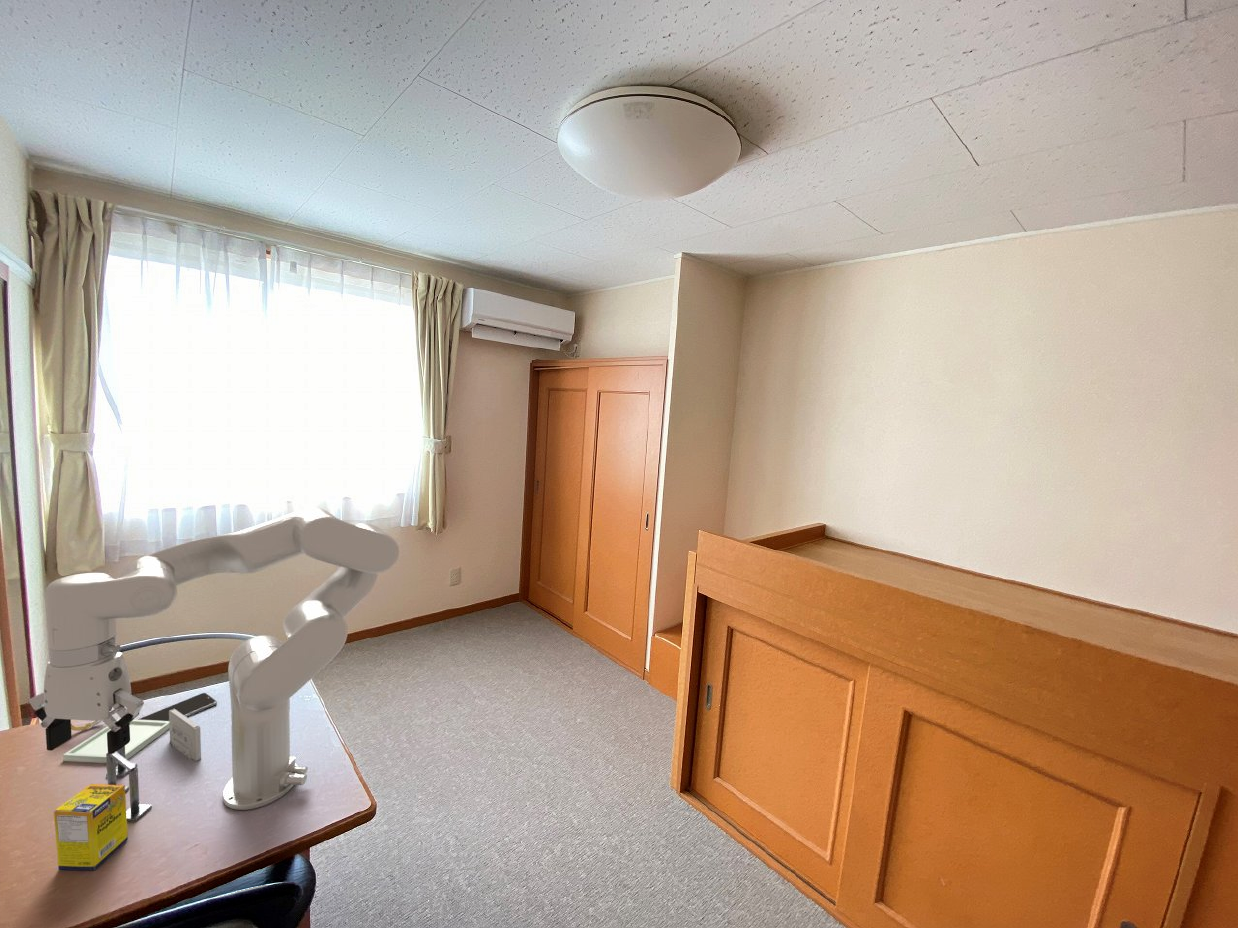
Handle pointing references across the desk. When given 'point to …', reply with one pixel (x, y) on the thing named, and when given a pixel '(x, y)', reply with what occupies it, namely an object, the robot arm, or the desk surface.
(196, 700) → the smartphone
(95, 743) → the tray
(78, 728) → the ring
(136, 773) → the metal handrail
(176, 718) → the cassette
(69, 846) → the supplement box
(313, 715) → the desk surface
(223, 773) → the desk surface
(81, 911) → the desk surface
